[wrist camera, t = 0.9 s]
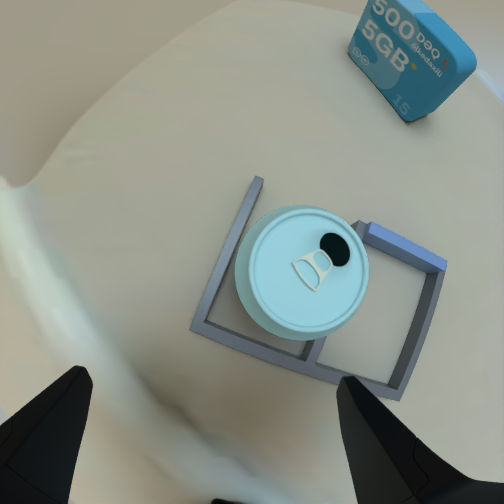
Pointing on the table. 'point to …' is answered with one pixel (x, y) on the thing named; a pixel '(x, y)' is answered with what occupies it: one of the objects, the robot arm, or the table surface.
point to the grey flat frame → (307, 361)
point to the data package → (410, 55)
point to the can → (301, 272)
